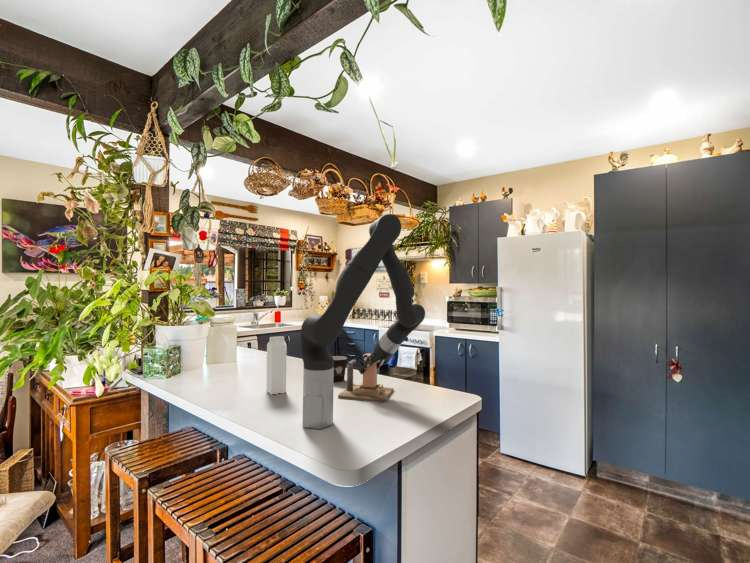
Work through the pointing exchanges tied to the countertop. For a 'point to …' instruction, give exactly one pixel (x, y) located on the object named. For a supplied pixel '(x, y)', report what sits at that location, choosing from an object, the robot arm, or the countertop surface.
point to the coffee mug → (339, 368)
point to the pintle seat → (363, 389)
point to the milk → (276, 365)
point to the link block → (370, 375)
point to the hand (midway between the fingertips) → (367, 370)
